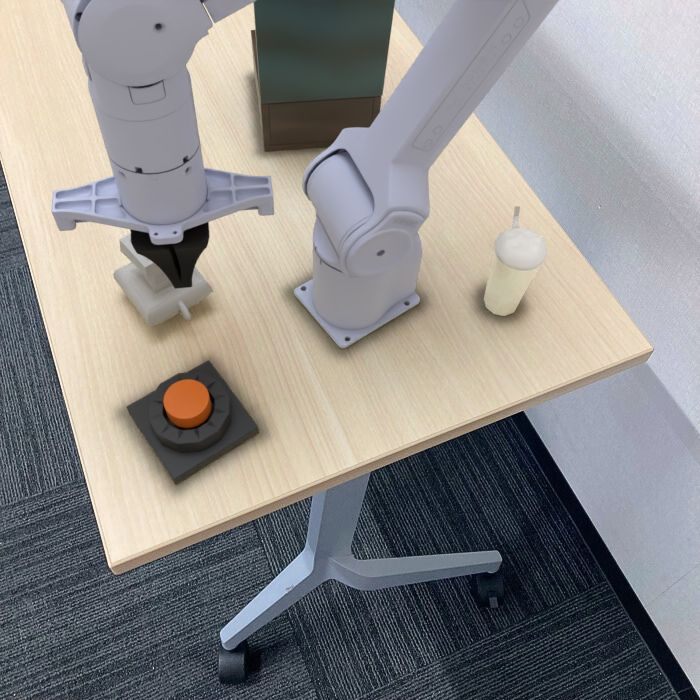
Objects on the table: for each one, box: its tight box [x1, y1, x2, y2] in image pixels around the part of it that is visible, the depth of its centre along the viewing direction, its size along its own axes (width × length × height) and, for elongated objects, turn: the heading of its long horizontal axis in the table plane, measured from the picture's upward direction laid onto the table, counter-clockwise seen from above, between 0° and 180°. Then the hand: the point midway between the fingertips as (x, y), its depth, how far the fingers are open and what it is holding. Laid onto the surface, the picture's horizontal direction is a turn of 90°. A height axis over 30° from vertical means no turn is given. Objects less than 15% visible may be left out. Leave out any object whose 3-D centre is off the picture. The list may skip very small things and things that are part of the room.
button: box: [163, 379, 212, 428], centre depth 58 cm, size 4×4×2 cm
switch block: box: [126, 360, 260, 485], centre depth 59 cm, size 8×8×3 cm
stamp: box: [112, 232, 214, 327], centre depth 64 cm, size 9×7×8 cm
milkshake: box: [483, 205, 548, 317], centre depth 65 cm, size 4×5×10 cm
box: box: [250, 29, 382, 152], centre depth 80 cm, size 13×13×6 cm
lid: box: [252, 0, 396, 104], centre depth 67 cm, size 13×13×1 cm
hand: (182, 277), depth 56 cm, fingers closed
